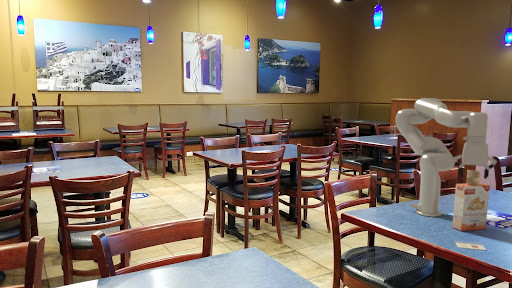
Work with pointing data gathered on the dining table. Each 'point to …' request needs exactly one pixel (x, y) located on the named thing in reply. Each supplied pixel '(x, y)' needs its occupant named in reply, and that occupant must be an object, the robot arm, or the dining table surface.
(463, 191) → the cracker box
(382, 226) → the dining table surface
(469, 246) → the menu card
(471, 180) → the maple block
